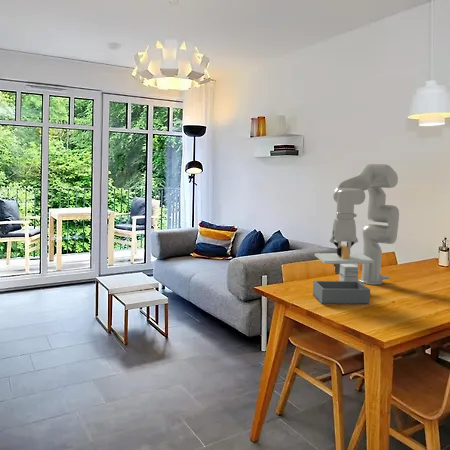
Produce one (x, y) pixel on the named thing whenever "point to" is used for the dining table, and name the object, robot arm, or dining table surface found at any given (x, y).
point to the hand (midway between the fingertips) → (343, 255)
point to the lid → (343, 257)
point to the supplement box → (348, 272)
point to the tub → (341, 292)
